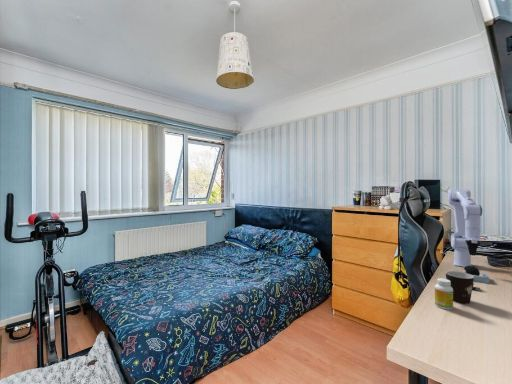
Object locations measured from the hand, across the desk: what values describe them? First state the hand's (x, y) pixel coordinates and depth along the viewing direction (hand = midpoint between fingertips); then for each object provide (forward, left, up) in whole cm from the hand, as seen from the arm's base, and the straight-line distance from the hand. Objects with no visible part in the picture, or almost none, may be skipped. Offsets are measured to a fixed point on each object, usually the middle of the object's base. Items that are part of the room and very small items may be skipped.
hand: (472, 254), depth 128 cm
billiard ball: (+9, -1, -10) cm, 13 cm away
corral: (+9, -1, -10) cm, 13 cm away
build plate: (+25, -5, -10) cm, 27 cm away
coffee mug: (+44, -10, -10) cm, 46 cm away
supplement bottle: (+53, -14, -10) cm, 56 cm away
